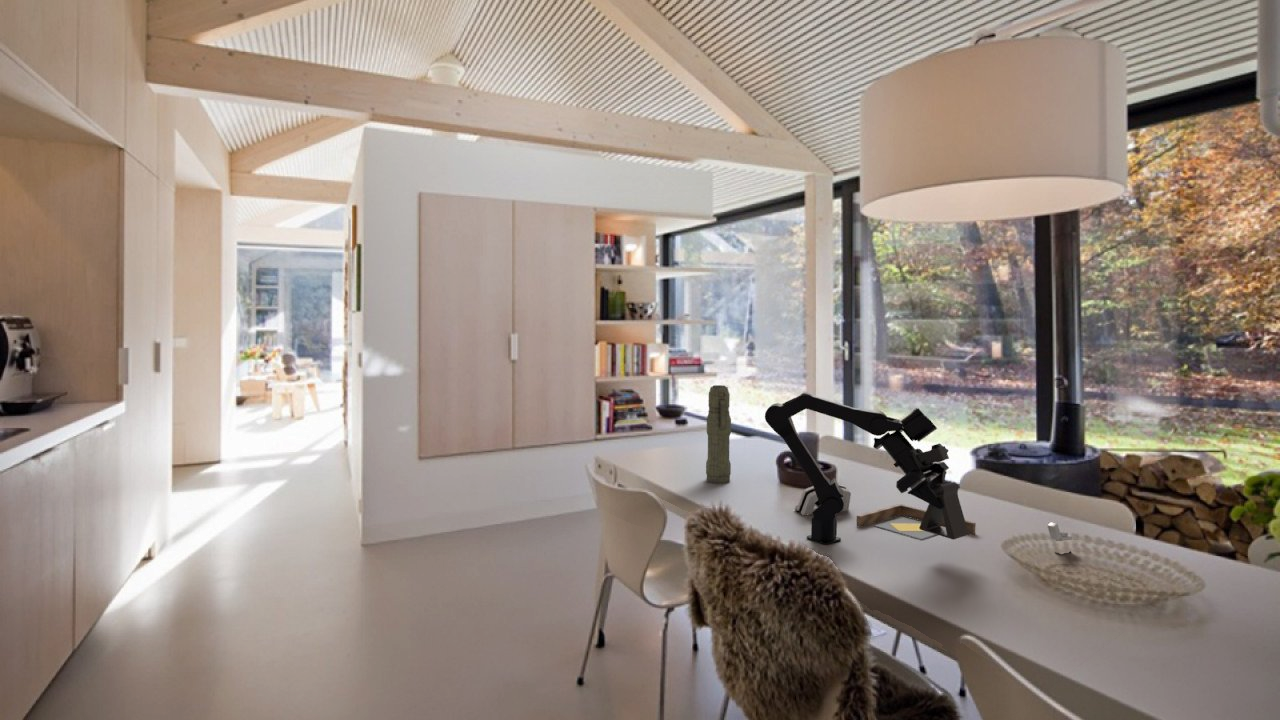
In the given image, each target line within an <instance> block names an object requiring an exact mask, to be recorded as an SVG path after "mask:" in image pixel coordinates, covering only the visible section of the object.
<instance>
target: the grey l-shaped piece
mask: <svg viewBox="0 0 1280 720" xmlns="http://www.w3.org/2000/svg"><path fill="white" fill-rule="evenodd" d="M1047 529H1048V533H1049V536H1050V538H1051V540H1053V541H1055V540H1056V541H1063V540H1072V539H1073V536H1072V535H1070V534H1069V533H1068V531H1065V530H1062V531H1060V528H1059V525H1058V524H1057V523H1055V522H1050V523H1049V524H1047ZM1072 541H1073V540H1072Z"/></svg>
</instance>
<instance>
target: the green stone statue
mask: <svg viewBox="0 0 1280 720" xmlns="http://www.w3.org/2000/svg"><path fill="white" fill-rule="evenodd" d="M730 395H731V394H730V392H729V389H728V386H726V385H716V384H715V385H712V386H710V388H709V391H708V412H707V417H706V434H707V458H706V462H705V474H706V482H708V483H710V484H711V483H712V484H729V483H730V482H731V474H732V473H731V469H732V468H731V466H732V464H731V460H730V436H731V434H732V418H731V415H730Z"/></svg>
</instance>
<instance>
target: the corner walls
mask: <svg viewBox="0 0 1280 720" xmlns="http://www.w3.org/2000/svg"><path fill="white" fill-rule="evenodd" d="M926 510H927V509H923V508H917V507H913V506H909V505H906V504H898V503H897V504H895V505H891V506H886V507H883V508H880V509H876V510H871V511H868V512H865V513H861V514H857V515H856V527H858V526H859V528H862V527H865V525H866V526H869V525H872V523H873V524H876V523H878V522H882V521H886V520H890V519H893V518H895V517H900V516H902V517H905V516H907V517H906V518H909V517H911V518H910V519H913V518H914V519H913V520H917V519H918V520H917V521H920V520H921V521H920V522H922V520H923V517H924V515H925V512H926ZM965 522H966V526H967V529H968V533H969V535H975V534H976V527H977V526H976V523H977V522H974V521H969V520H966V519H965ZM941 526H943V527H945V522H944V517H943V518H942V521H941Z"/></svg>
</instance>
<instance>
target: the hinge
mask: <svg viewBox="0 0 1280 720" xmlns="http://www.w3.org/2000/svg"><path fill="white" fill-rule="evenodd" d="M838 485H839V487H840V488H841V489H843V496H844V497H843V498H844V506H843V509H842V511H841V512H846V511H845V510H848V511H849V509H850V502H851V494H852V493H851V491H850V490H849V489H847V487H846V486H845V485H842V484H839V483H838ZM817 500H818V498H817V495H816V493H815V490H814V487H813V485H812V486H809V487H806V488H805V489H804V490H803V491H802V494H801V497H800V499H799V502H798V503H797V505H795V507H794V510H795V511H794V512H800V515H801V514H802V515H801V516H808V515H807V514H812V510H813V504H814V503H815V502H816V501H817ZM812 515H813V514H812Z"/></svg>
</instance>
